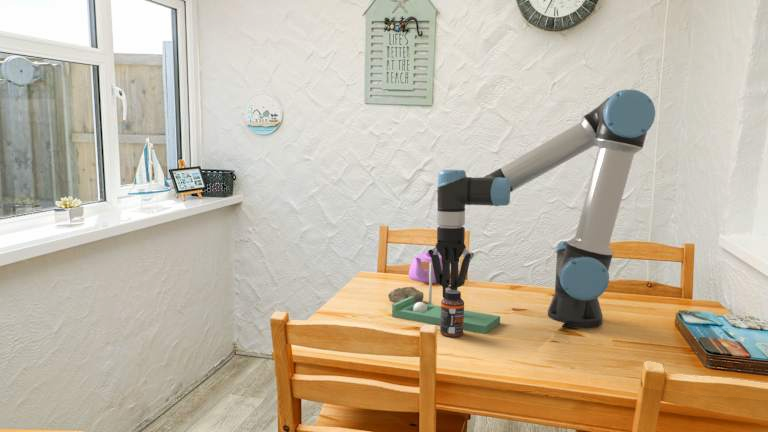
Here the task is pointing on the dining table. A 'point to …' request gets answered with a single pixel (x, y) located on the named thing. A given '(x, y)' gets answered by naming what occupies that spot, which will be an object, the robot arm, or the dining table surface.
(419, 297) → the rock
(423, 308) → the ball
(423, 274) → the teapot
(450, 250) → the robot arm
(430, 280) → the pin
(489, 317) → the green
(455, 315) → the supplement bottle
